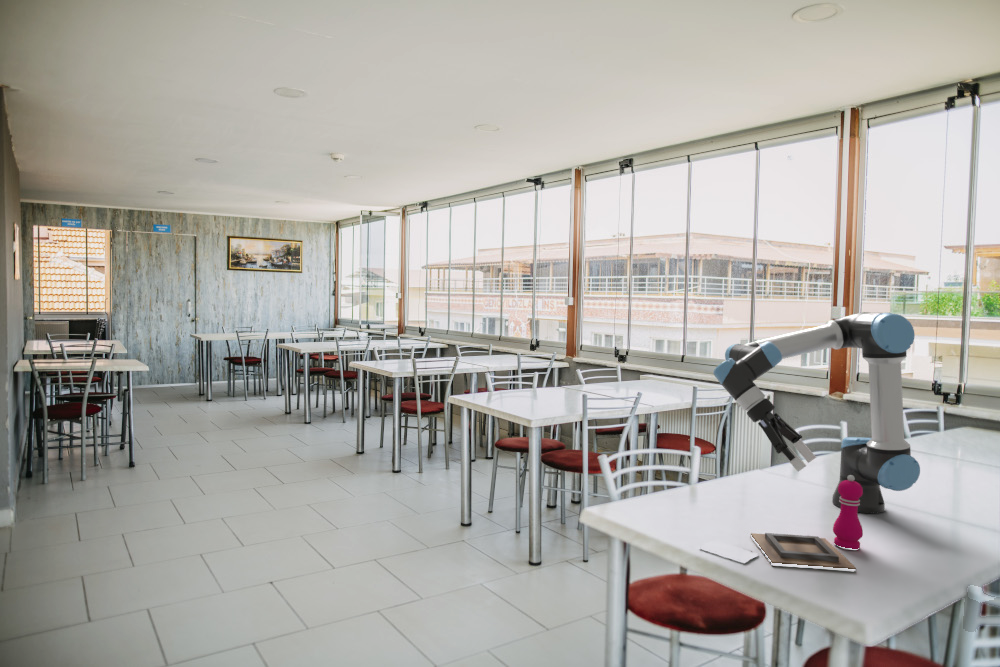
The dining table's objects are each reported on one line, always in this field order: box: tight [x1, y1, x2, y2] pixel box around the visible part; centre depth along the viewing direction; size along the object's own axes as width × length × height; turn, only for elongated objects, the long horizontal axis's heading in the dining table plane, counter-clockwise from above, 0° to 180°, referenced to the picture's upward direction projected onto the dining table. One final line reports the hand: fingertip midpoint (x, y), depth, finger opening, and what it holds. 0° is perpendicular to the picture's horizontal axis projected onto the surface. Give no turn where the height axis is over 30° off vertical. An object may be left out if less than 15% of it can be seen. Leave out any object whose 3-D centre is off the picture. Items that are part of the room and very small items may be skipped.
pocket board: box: [750, 532, 857, 570], centre depth 171 cm, size 20×20×3 cm
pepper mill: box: [832, 475, 864, 549], centre depth 176 cm, size 7×7×20 cm
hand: (807, 464), depth 182 cm, fingers open, 13 cm apart
